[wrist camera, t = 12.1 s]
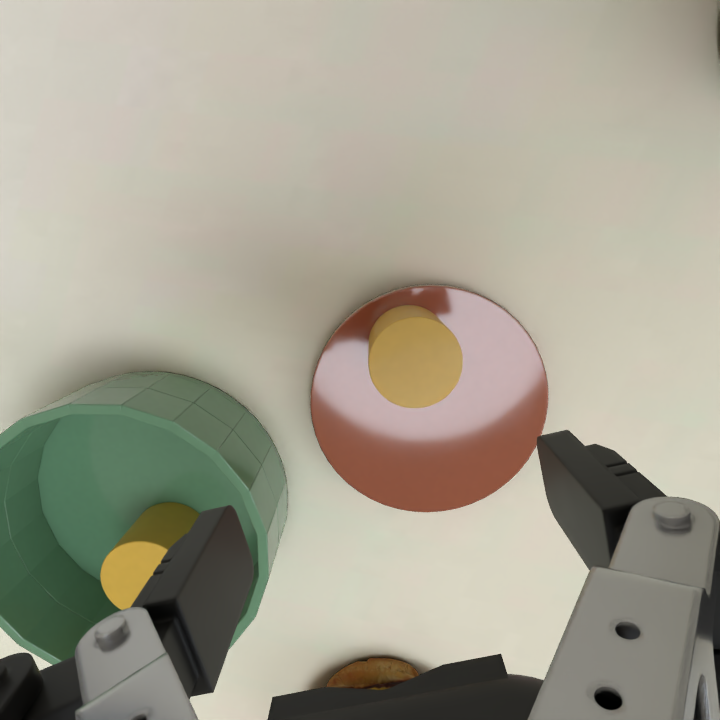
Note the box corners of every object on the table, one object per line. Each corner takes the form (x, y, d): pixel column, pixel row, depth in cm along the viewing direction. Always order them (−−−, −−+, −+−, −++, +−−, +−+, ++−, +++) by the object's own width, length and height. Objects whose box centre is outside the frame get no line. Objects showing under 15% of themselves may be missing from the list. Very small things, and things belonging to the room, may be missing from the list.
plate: (406, 233, 26) (407, 233, 25) (590, 377, 27) (599, 382, 26) (267, 421, 28) (264, 427, 27) (444, 543, 30) (446, 552, 29)
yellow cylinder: (400, 288, 25) (407, 297, 21) (463, 336, 26) (482, 354, 22) (352, 352, 26) (349, 372, 22) (414, 397, 27) (423, 426, 23)
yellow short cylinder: (160, 487, 29) (128, 525, 25) (226, 529, 29) (204, 573, 25) (121, 543, 30) (83, 588, 26) (185, 583, 30) (158, 633, 26)
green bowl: (117, 318, 27) (48, 337, 21) (337, 469, 29) (330, 526, 23) (-6, 514, 30) (-97, 579, 24) (201, 640, 32) (163, 729, 26)
